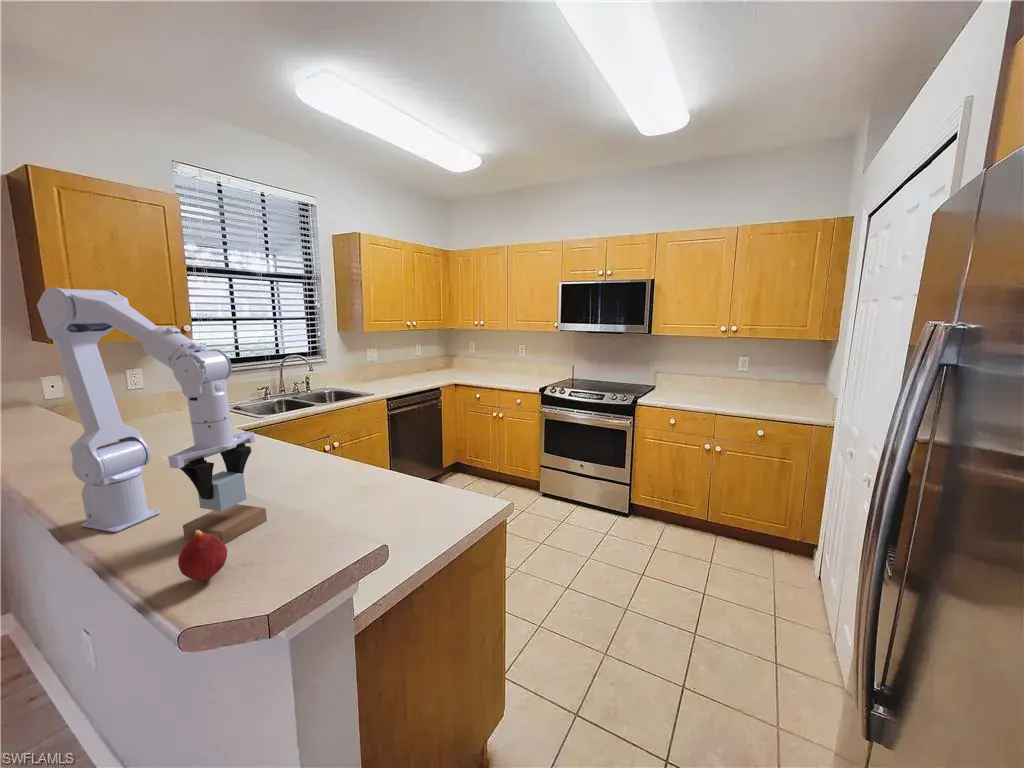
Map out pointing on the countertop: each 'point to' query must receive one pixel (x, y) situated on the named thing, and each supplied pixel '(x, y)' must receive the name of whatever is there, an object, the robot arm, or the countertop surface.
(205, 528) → the base
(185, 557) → the onion
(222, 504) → the cube
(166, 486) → the countertop surface
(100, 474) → the robot arm
